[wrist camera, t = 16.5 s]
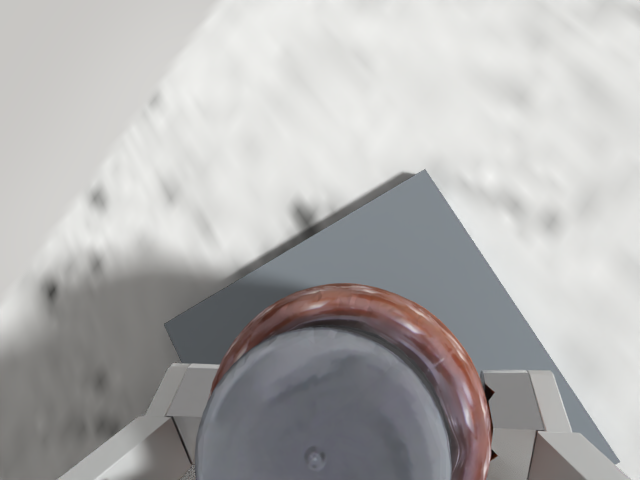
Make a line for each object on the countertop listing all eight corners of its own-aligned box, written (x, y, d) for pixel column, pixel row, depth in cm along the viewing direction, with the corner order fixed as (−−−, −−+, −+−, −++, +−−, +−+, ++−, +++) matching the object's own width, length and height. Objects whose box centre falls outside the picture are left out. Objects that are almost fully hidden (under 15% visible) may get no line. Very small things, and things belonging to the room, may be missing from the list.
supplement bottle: (261, 380, 19) (59, 439, 8) (373, 269, 19) (316, 183, 8) (373, 510, 18) (305, 790, 7) (495, 389, 18) (621, 476, 7)
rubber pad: (424, 175, 21) (425, 168, 20) (610, 456, 18) (619, 461, 17) (172, 324, 21) (163, 324, 20) (311, 621, 18) (307, 634, 17)
